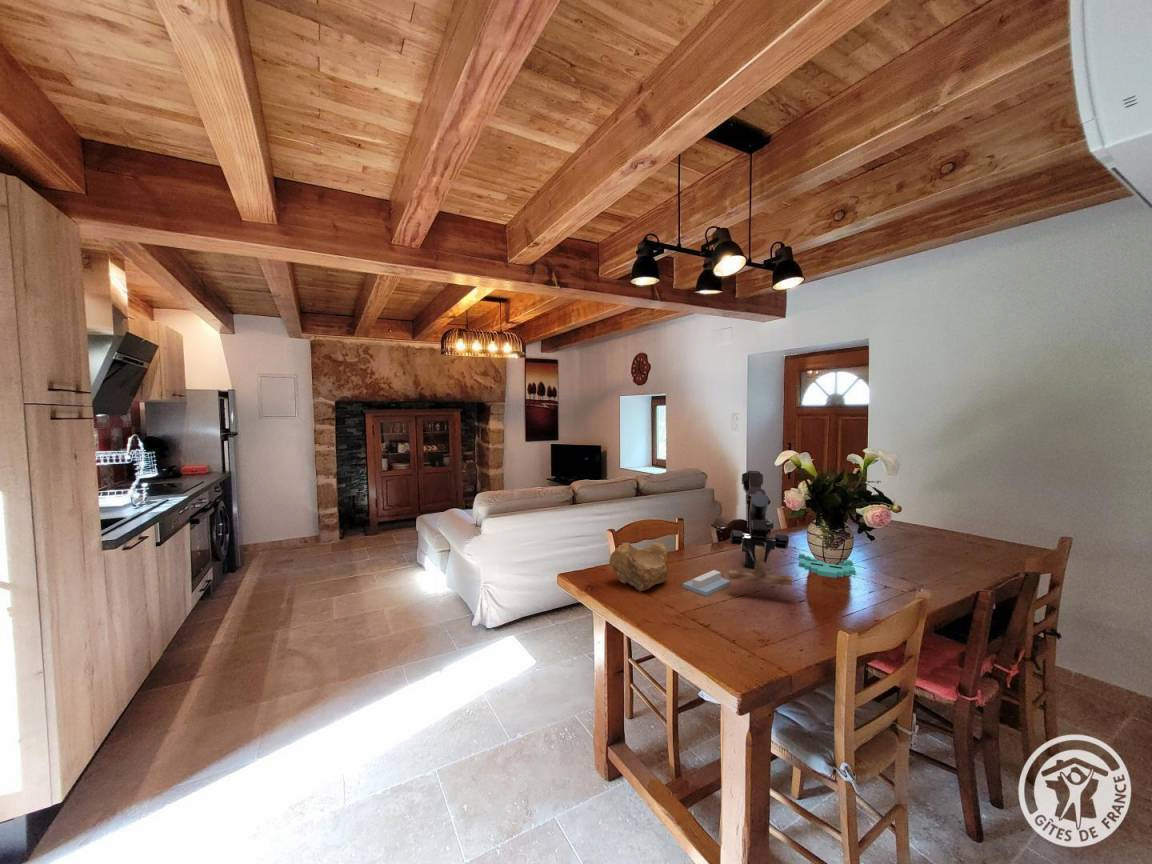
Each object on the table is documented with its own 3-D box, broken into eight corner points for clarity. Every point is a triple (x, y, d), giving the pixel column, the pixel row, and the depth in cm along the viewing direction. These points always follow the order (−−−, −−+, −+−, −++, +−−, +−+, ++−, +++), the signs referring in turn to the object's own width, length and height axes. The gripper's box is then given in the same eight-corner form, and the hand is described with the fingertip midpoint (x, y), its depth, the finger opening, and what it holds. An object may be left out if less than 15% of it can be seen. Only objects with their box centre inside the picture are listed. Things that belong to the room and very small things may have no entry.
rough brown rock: (622, 600, 149) (625, 559, 147) (604, 578, 165) (607, 541, 163) (680, 593, 157) (684, 554, 155) (658, 573, 172) (661, 537, 170)
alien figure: (798, 558, 191) (798, 573, 173) (798, 553, 191) (798, 567, 173) (851, 565, 182) (857, 582, 164) (852, 560, 182) (857, 576, 164)
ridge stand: (707, 576, 168) (707, 566, 168) (730, 584, 160) (730, 574, 160) (682, 587, 158) (682, 576, 158) (706, 596, 150) (706, 585, 150)
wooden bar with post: (728, 578, 150) (729, 544, 150) (728, 575, 153) (729, 542, 153) (791, 585, 144) (792, 550, 143) (790, 582, 147) (791, 547, 146)
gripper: (731, 508, 154) (731, 547, 144) (788, 511, 148) (793, 553, 138) (730, 524, 162) (730, 562, 152) (784, 528, 156) (788, 568, 146)
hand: (759, 561), depth 147 cm, fingers closed on wooden bar with post, 3 cm apart
